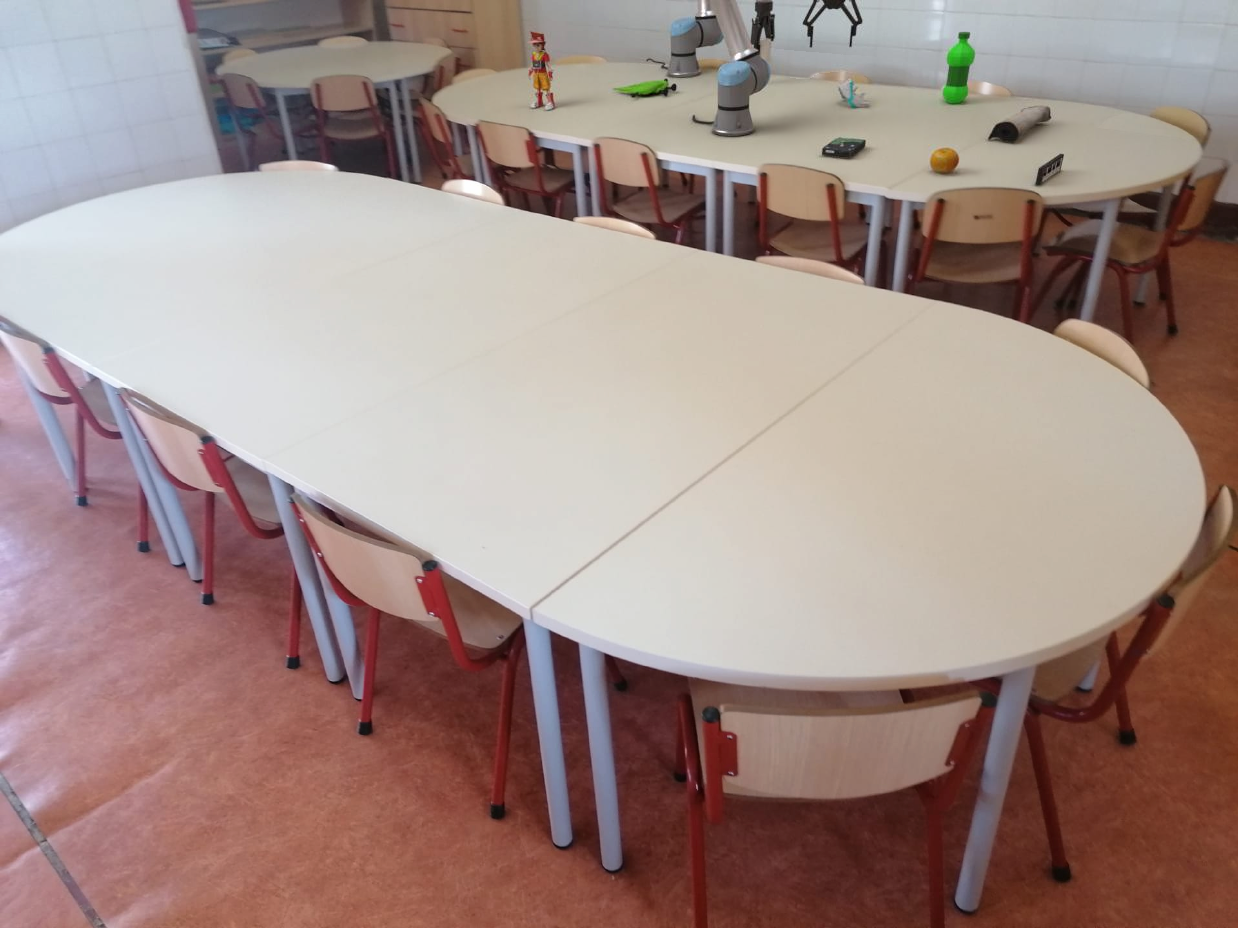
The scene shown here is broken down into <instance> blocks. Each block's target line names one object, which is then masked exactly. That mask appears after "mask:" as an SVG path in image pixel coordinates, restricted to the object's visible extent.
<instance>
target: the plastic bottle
mask: <svg viewBox="0 0 1238 928" xmlns="http://www.w3.org/2000/svg"><path fill="white" fill-rule="evenodd" d="M970 36H971V32H970V31H959V32H958V36H957V39H958V42H957V43H956V44H954V45H953V46H952V47H951V48H950V49H949V50H948V52H947V54H946V63H947V64H948V69H947V70H948V71H947V76H946V77H947V78H946V84H945V85H944V87H943V90H942V97H943V99H944V100H945V101H946V102H947V103H948V104H960V103H961V102H963V101H964V100H966V98H967V96H968V95H969V85H968V79H969V73H970V67H971V65H972V64H973V63H974V61H975V57H976V51H975V49H974V47H972V45H971V44H970V43H969V42H968V41H969V39H970V38H971V37H970Z"/></svg>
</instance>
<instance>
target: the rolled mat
mask: <svg viewBox="0 0 1238 928" xmlns="http://www.w3.org/2000/svg"><path fill="white" fill-rule="evenodd" d="M1051 113H1052V112H1051V107H1050V106H1048V105H1047V106H1045V105H1033V106H1027V107H1024V108H1022V109H1021V110H1020V112H1018V113H1015V114H1013V115H1012V116H1009V117H1007V118H1005V119H1003V120H1001V121H1000V122H997V123H996V124H995V125H994V126H993V128H992V130H991V132H990V133H989V136H988V137H987V140H988V141H990V140H991V139H999V140H1000V141H1002V142H1006V143H1011V144H1013V143H1016V142H1017V141H1018V140H1019V139H1020V138H1021V137H1023V135H1024V134H1026V132H1027V131H1029V130H1030V129H1031V128H1033V127H1034V126H1035V125H1036V124H1040V123H1046V122H1049V121H1050V120H1051V119H1052V114H1051Z"/></svg>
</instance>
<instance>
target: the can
mask: <svg viewBox="0 0 1238 928" xmlns="http://www.w3.org/2000/svg"><path fill="white" fill-rule="evenodd" d="M759 45H760V57H761V58H763V59H764V60H766V61H767V63H768V64H771V55H772V53H771V52H772V51H771V50H772V41H771V39H769V38H766V37H760V42H759Z"/></svg>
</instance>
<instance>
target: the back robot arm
mask: <svg viewBox="0 0 1238 928" xmlns="http://www.w3.org/2000/svg"><path fill="white" fill-rule="evenodd" d="M773 10H774V2H773V0H755V2H754V12H756V15H755V16H756V17H753V18H752V19H751V32H750V41H751V44H752V46H753V48H755V49H757V50H758V51H759V54H760V45H759V42H760V38H762V33H763V30H764V36H765V38H769V39H771V42H774V40H775V38H776V31H775V30H776V29H775V26H776V25H775V20H776V19H775V18H776V14H775V13H771V12H772V11H773ZM669 34H670V60H669V62H668V66H665V65H666V63H665V62H663V61H657V60H654V59H653V58H651V57H650V58H646V62H648V61H651V62H653V63H655V64H662V65H661V66H660V67H661V68H662V69H665V70H667V72H666V73H667V76H668V77H671V78H691V77H696V76H699V75H700V74H701V68H700V66H699V64H700V63H699V61H698V58H697V49H699V48H706V47H713V46H717V45H719V44H720V43H722V41H723V40H724V37H723V34H722V31H721V29H720V26H719V23H718V20H717V18H716V15H715V12H714V9H713V7H712V4H711V1H710V0H697V12H696V13H695V14H694V17H683V18H679V19H675V20H673V22H672V23H671V25H670V32H669Z"/></svg>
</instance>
